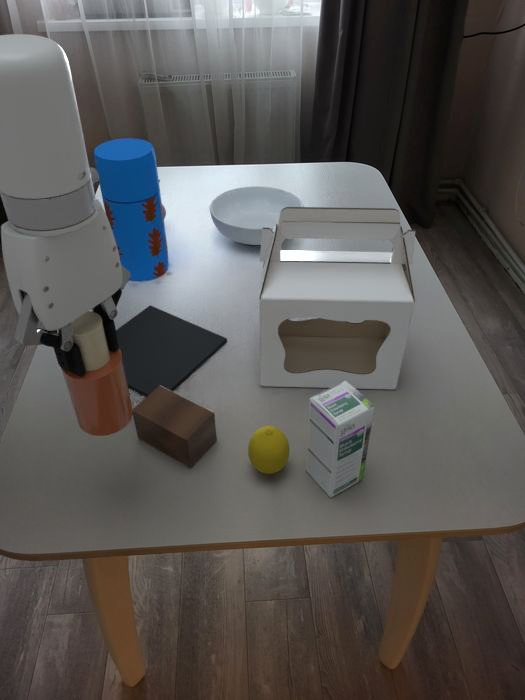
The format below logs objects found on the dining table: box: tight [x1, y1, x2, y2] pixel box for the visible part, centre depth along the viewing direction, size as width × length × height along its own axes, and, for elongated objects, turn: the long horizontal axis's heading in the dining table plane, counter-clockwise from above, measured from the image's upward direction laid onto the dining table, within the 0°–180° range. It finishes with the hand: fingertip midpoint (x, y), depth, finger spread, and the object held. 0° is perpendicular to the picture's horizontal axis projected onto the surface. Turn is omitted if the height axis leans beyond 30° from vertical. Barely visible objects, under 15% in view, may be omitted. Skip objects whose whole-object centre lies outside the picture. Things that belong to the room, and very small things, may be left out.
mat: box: [116, 305, 228, 398], centre depth 96 cm, size 18×18×1 cm
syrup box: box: [305, 381, 375, 498], centre depth 72 cm, size 6×6×14 cm
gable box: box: [258, 206, 416, 390], centre depth 85 cm, size 22×13×28 cm, turn 88°
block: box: [132, 385, 218, 469], centre depth 79 cm, size 10×6×6 cm, turn 57°
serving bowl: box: [209, 185, 305, 246], centre depth 125 cm, size 21×21×7 cm
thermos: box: [93, 137, 170, 282], centre depth 108 cm, size 11×11×25 cm
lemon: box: [247, 425, 290, 475], centre depth 75 cm, size 6×6×8 cm
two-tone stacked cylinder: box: [60, 310, 134, 437], centre depth 62 cm, size 6×12×14 cm
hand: (90, 356), depth 60 cm, fingers closed on two-tone stacked cylinder, 4 cm apart
